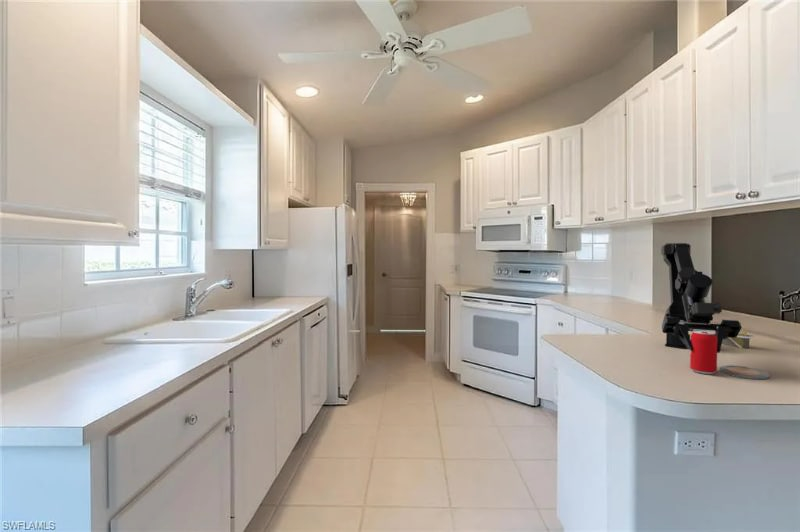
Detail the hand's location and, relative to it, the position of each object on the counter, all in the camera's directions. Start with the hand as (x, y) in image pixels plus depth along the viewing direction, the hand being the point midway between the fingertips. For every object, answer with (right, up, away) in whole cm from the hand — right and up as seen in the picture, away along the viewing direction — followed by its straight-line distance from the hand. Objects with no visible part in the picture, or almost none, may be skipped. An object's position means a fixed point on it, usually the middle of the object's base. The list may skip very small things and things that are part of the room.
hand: (705, 350), depth 114 cm
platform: (+34, -5, +29) cm, 45 cm away
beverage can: (+1, -7, +2) cm, 7 cm away
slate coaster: (+11, -7, 0) cm, 13 cm away
